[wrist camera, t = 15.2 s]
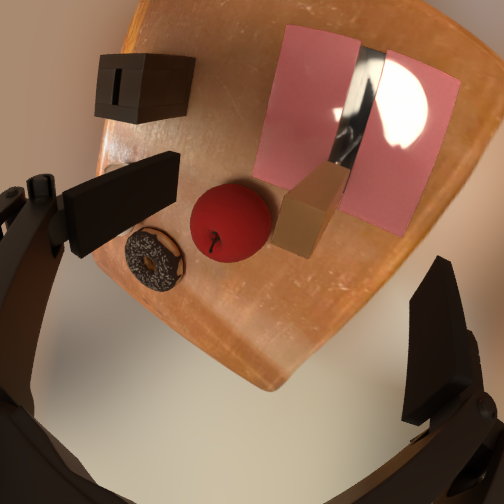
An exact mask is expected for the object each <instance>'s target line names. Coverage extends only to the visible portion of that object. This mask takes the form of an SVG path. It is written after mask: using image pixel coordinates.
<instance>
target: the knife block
mask: <svg viewBox="0 0 504 504" xmlns="http://www.w3.org/2000/svg"><path fill="white" fill-rule="evenodd" d="M195 60H196V58H194V57H186V56H176V55H164V54H149V53H129V54H107V55H100V62H99V69H98V78H97V89H96V101H95V102H96V103H95V116H96V117H101V118H106V119H112V120H117V121H122V122H127V123H131V124H136V125H137V124H142V123H147V122H152V121H158V120H163V119H169V118H175V117H181V116H186V113H187V106H188V100H189V94H190V88H191V82H192V76H193V70H194V65H195Z"/></svg>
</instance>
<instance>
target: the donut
mask: <svg viewBox="0 0 504 504" xmlns="http://www.w3.org/2000/svg"><path fill="white" fill-rule="evenodd" d="M125 257H126V262H127V265H128V267H129V269H130V271H131V272H132V274H133V275H134V276H135V277H136V278H137V279H138V280H139V281H140V282H141V283H142V284H144V286H147V287H148V288H150V289H152V290H155V291H158V292H164V291H168V290H170V289H172V288H173V287H174V286H175V285H176V284H177V283H178V282H179V281H180V279H181V277H182V274H183V262H182V255H181V254H180V252H179V250H178V248H177V246H176V245H175V244H174V243H173V242H172V240H170V239H169V238H168V237H167V236H166V235H165V234H163V233H162V232H160V231H157V230H154V229H150V228H141V229H139V230H138V231H137V232H134V233H133V234H132V235H131V236H130V237H129V238H128V240H127V243H126V246H125ZM149 258H150V259H151V260H152V261H153V262H154V263H155V265H154V264H153V263H152V262H151V260H150V259H149Z"/></svg>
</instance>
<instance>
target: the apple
mask: <svg viewBox="0 0 504 504" xmlns="http://www.w3.org/2000/svg"><path fill="white" fill-rule="evenodd" d="M190 230H191V235H192V239H193V241H194V243H195V245H196V246H197V248H198V249H199V250H200V251H201V252H202V253H203V254H204V255H206V256H207V257H209V258H210V259H213V260H215V261H218V262H224V263H231V262H238V261H241V260H244V259H247V258H249V257H250V256H252V255H253V254H255V253H256V252H257V251H258V250H260V249H261V247H262V246H263V245H264V244H265V242H266V241H267V239H268V237H269V234H270V230H271V215H270V211H269V209H268V207H267V205H266V203H265V202H264V201H263V200H262V198H261V197H260V196H259V195H258V194H257V193H256V192H254V191H252V190H251V189H249V188H247V187H244V186H241V185H238V184H223V185H220V186H216V187H213V188H211V189H209V190H208V191H206V192H205V193H204V194H203V195H202V196H201V197H200V198H199V199H198V200H197V202H196V204H195V205H194V207H193V210H192V214H191V218H190Z"/></svg>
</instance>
